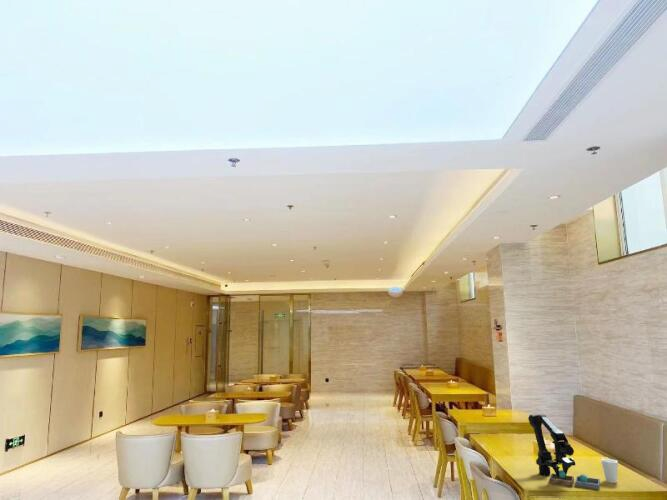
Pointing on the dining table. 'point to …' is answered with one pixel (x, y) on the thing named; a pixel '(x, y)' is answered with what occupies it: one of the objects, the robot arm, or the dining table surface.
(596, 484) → the charcoal tray
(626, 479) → the dining table surface
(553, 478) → the walnut tray
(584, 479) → the ball
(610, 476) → the foam cup
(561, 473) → the teal ball
